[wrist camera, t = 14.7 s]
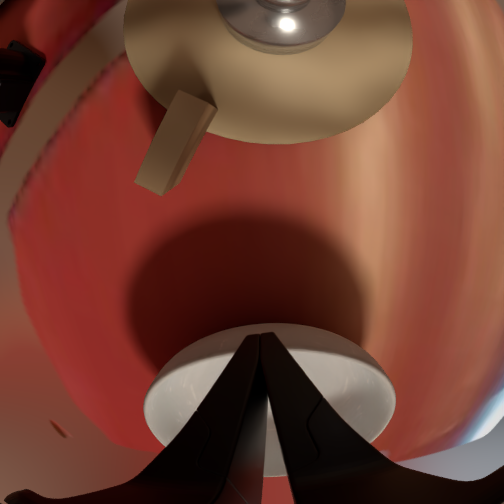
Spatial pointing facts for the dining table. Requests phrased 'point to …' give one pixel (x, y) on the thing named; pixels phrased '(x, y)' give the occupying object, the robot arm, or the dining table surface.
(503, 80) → the dining table surface
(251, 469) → the robot arm
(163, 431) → the serving bowl
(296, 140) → the tan piece
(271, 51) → the cover
